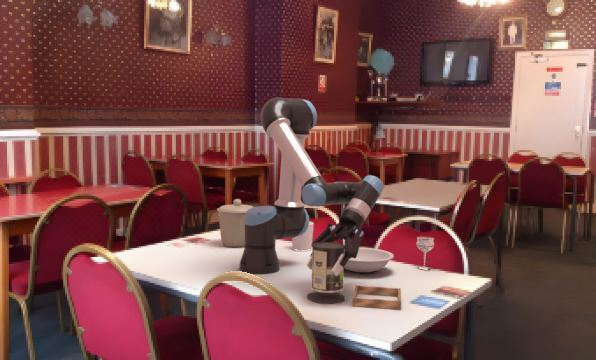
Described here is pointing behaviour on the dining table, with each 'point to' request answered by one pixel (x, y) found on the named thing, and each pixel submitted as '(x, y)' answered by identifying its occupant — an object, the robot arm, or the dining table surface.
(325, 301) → the black coaster
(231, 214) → the canister
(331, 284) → the coffee can
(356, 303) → the oak caddy
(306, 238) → the candle holder
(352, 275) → the dining table surface
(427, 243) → the wineglass
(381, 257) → the soup bowl
